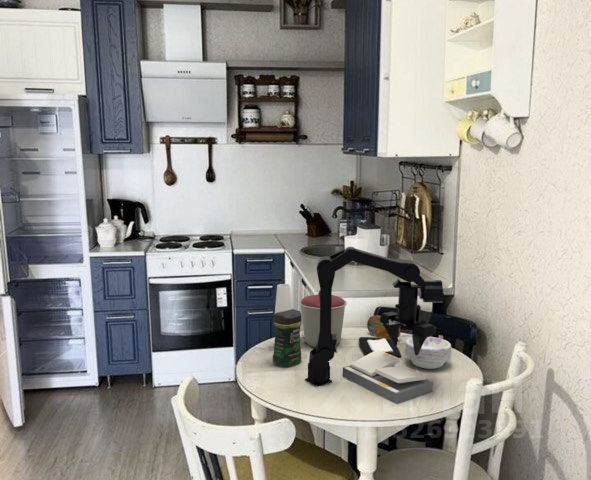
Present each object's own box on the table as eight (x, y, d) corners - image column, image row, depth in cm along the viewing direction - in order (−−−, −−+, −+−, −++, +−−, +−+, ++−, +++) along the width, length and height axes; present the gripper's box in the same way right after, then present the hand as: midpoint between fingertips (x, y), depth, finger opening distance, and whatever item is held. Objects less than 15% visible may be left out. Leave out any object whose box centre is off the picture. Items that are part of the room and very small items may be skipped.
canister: (289, 343, 210) (288, 289, 207) (322, 333, 222) (322, 282, 219) (322, 355, 197) (323, 298, 194) (356, 344, 209) (357, 290, 206)
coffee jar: (285, 369, 184) (285, 315, 181) (269, 363, 190) (269, 311, 187) (305, 362, 191) (305, 310, 188) (290, 356, 196) (290, 306, 194)
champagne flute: (288, 352, 200) (288, 288, 197) (271, 350, 203) (271, 286, 199) (295, 346, 206) (295, 284, 203) (279, 344, 209) (279, 282, 206)
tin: (366, 334, 222) (366, 313, 221) (371, 332, 224) (371, 312, 223) (396, 343, 211) (397, 322, 210) (401, 341, 213) (402, 320, 212)
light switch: (404, 354, 194) (365, 351, 194) (403, 362, 195) (364, 359, 194) (392, 336, 214) (357, 333, 213) (391, 343, 214) (356, 340, 213)
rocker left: (372, 376, 170) (371, 372, 169) (351, 366, 178) (350, 363, 178) (399, 361, 176) (399, 357, 176) (378, 352, 184) (377, 349, 184)
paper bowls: (444, 356, 197) (445, 335, 195) (455, 372, 182) (456, 349, 180) (401, 356, 197) (402, 334, 196) (408, 372, 182) (409, 349, 181)
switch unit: (396, 403, 158) (397, 390, 158) (342, 376, 178) (342, 364, 178) (432, 391, 167) (432, 378, 166) (376, 366, 187) (377, 355, 186)
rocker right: (398, 383, 160) (399, 378, 160) (374, 372, 168) (375, 368, 168) (426, 379, 167) (427, 375, 167) (402, 369, 175) (403, 365, 175)
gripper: (449, 304, 166) (446, 354, 168) (404, 292, 181) (402, 337, 183) (423, 310, 159) (421, 361, 162) (379, 296, 175) (377, 343, 177)
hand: (405, 350), depth 171 cm, fingers open, 9 cm apart
